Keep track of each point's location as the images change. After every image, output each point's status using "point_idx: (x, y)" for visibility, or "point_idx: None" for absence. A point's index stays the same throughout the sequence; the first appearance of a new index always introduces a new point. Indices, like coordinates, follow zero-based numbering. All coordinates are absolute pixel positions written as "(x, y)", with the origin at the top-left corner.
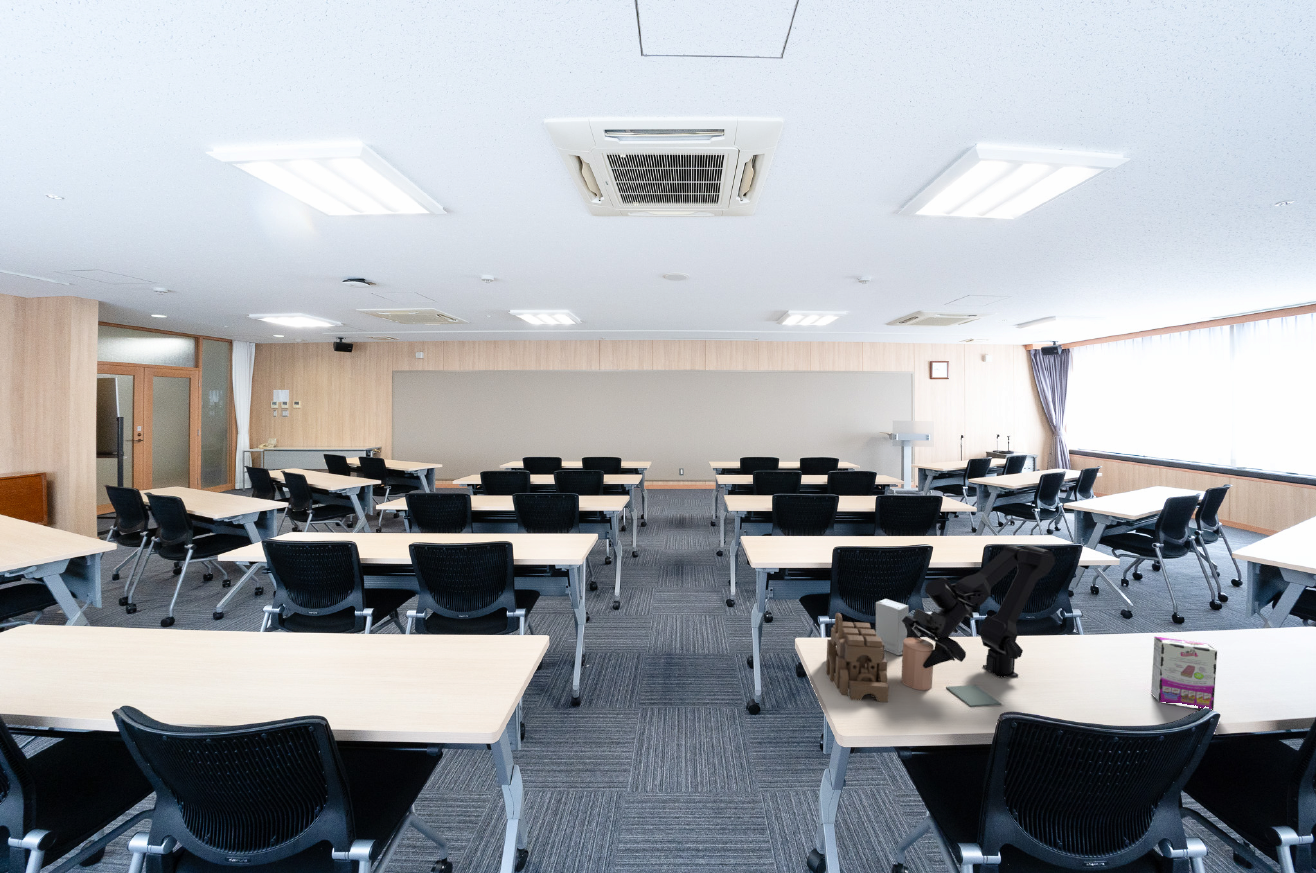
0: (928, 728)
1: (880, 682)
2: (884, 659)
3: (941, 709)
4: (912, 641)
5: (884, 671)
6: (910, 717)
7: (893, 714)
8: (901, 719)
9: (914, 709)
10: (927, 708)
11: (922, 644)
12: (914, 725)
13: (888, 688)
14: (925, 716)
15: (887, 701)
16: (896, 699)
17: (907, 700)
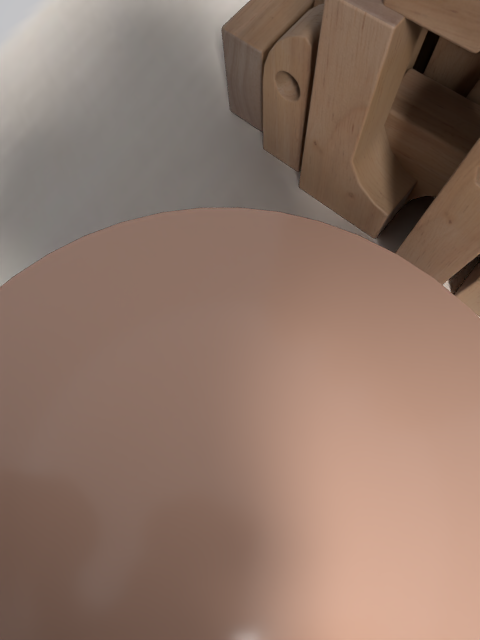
0: (5, 82)
1: (283, 26)
2: (377, 9)
3: (11, 277)
4: (360, 518)
5: (306, 28)
6: (94, 90)
7: (157, 50)
8: (115, 47)
9: (111, 161)
10: (68, 223)
11: (104, 575)
12: (57, 54)
13: (222, 38)
14: (48, 151)
15: (231, 106)
16: (217, 167)
17: (175, 206)
